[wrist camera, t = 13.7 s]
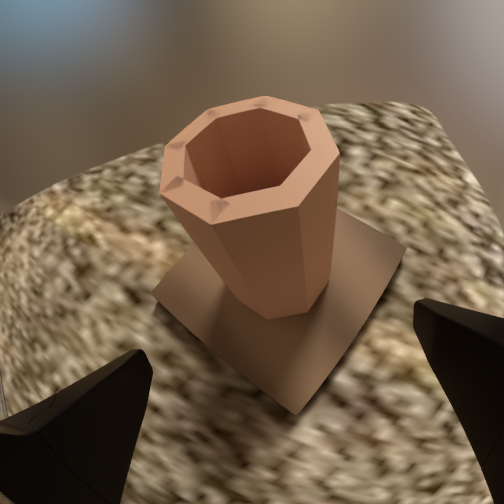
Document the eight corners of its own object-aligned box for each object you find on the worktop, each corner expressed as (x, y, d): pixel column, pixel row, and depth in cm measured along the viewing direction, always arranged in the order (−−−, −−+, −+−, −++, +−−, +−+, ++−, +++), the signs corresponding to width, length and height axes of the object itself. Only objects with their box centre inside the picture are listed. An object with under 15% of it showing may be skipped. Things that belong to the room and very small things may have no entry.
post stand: (297, 414, 15) (292, 422, 11) (158, 299, 20) (122, 272, 16) (402, 256, 18) (422, 217, 14) (263, 181, 23) (252, 137, 19)
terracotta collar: (290, 335, 16) (260, 254, 7) (216, 283, 18) (132, 177, 9) (343, 258, 17) (361, 125, 8) (269, 218, 19) (234, 88, 11)
